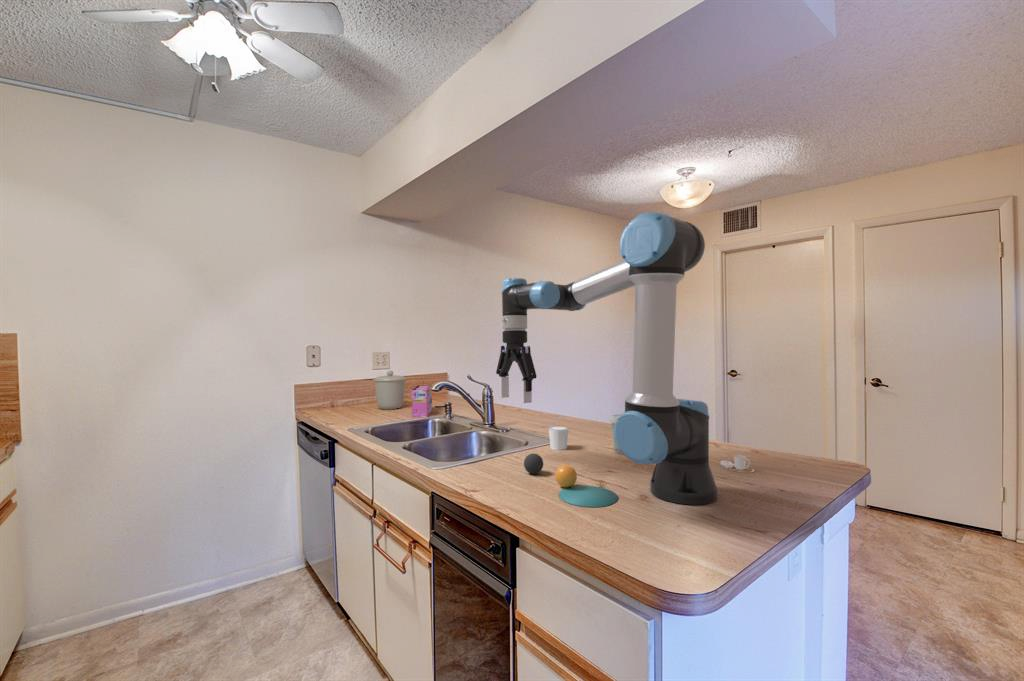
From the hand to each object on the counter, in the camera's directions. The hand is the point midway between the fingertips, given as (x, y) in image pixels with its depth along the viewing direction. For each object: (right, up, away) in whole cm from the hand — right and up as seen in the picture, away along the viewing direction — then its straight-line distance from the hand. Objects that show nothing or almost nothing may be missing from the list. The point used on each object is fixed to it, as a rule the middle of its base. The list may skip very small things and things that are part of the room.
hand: (515, 400), depth 133 cm
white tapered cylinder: (+15, -20, +19) cm, 31 cm away
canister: (-69, -20, +112) cm, 133 cm away
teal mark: (+17, -19, -28) cm, 38 cm away
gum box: (-47, -20, +94) cm, 107 cm away
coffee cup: (+36, -19, +13) cm, 43 cm away
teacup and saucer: (+65, -20, -4) cm, 68 cm away
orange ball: (+13, -17, -21) cm, 30 cm away
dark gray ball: (+5, -17, -9) cm, 20 cm away
